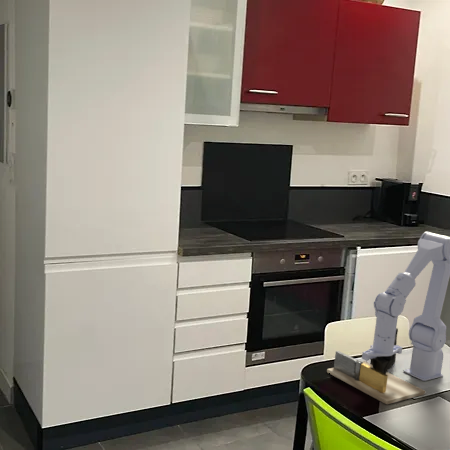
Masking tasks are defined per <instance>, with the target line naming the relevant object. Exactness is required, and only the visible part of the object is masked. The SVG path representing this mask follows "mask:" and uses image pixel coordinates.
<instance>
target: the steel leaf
mask: <svg viewBox="0 0 450 450" xmlns="http://www.w3.org/2000/svg"><path fill="white" fill-rule="evenodd" d="M333 363H334V364H333V368H334V369H336V370H338V371H340V372H342V373H344V374H346V375H348V376H350V377H352V378H354V379H355V380H357V381H359V377H360V369H361V364H363V361H361V360H358V359H355V357H352V356H349V355H348V354H346V353H344V352H342V351H340V350H337V351H335V355H334V362H333Z"/></svg>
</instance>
